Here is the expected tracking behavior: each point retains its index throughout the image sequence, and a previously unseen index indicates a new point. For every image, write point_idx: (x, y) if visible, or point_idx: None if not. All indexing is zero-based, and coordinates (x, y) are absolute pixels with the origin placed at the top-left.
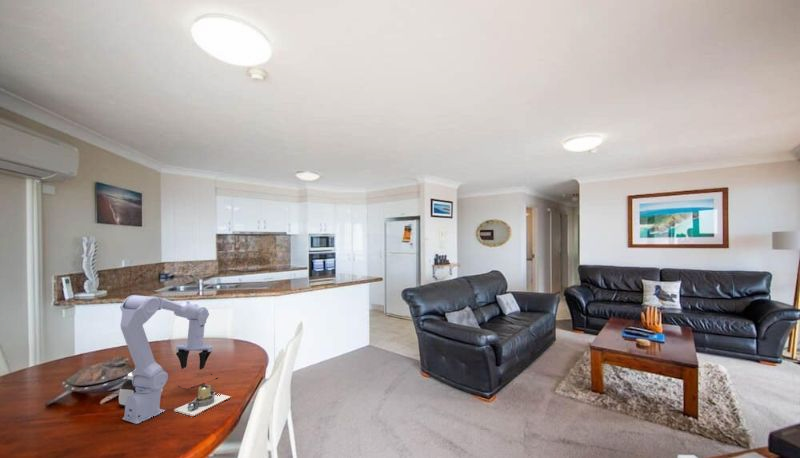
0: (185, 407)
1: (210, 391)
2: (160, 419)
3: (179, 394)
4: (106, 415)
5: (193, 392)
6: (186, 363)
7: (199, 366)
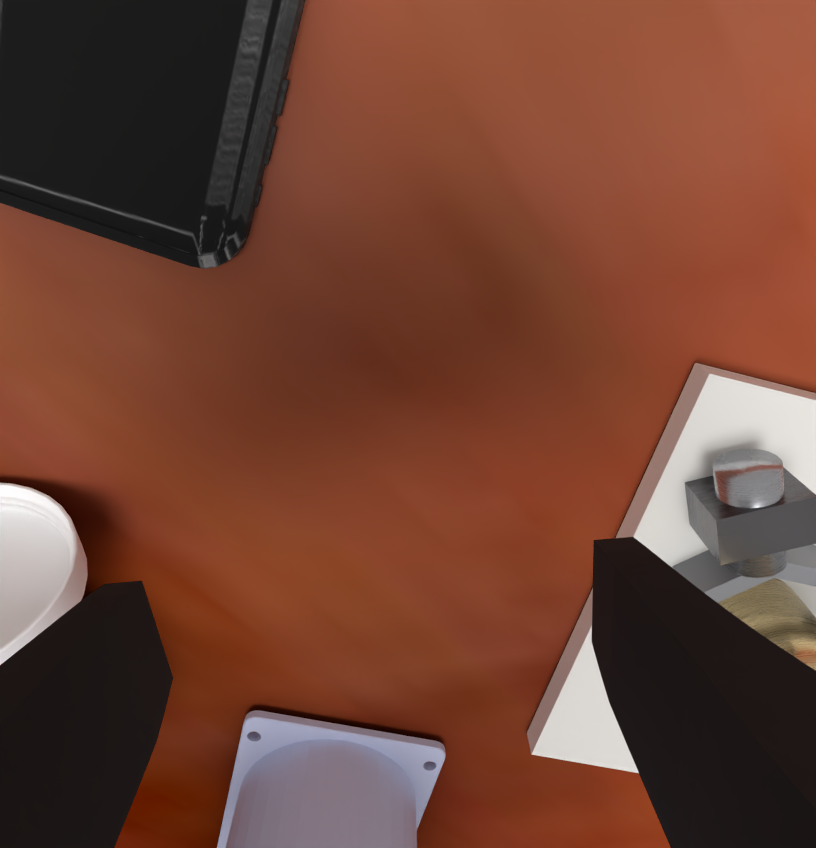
0: (611, 716)
1: (781, 540)
2: (502, 817)
3: (261, 421)
4: None
5: (393, 340)
6: (97, 642)
7: (619, 721)
